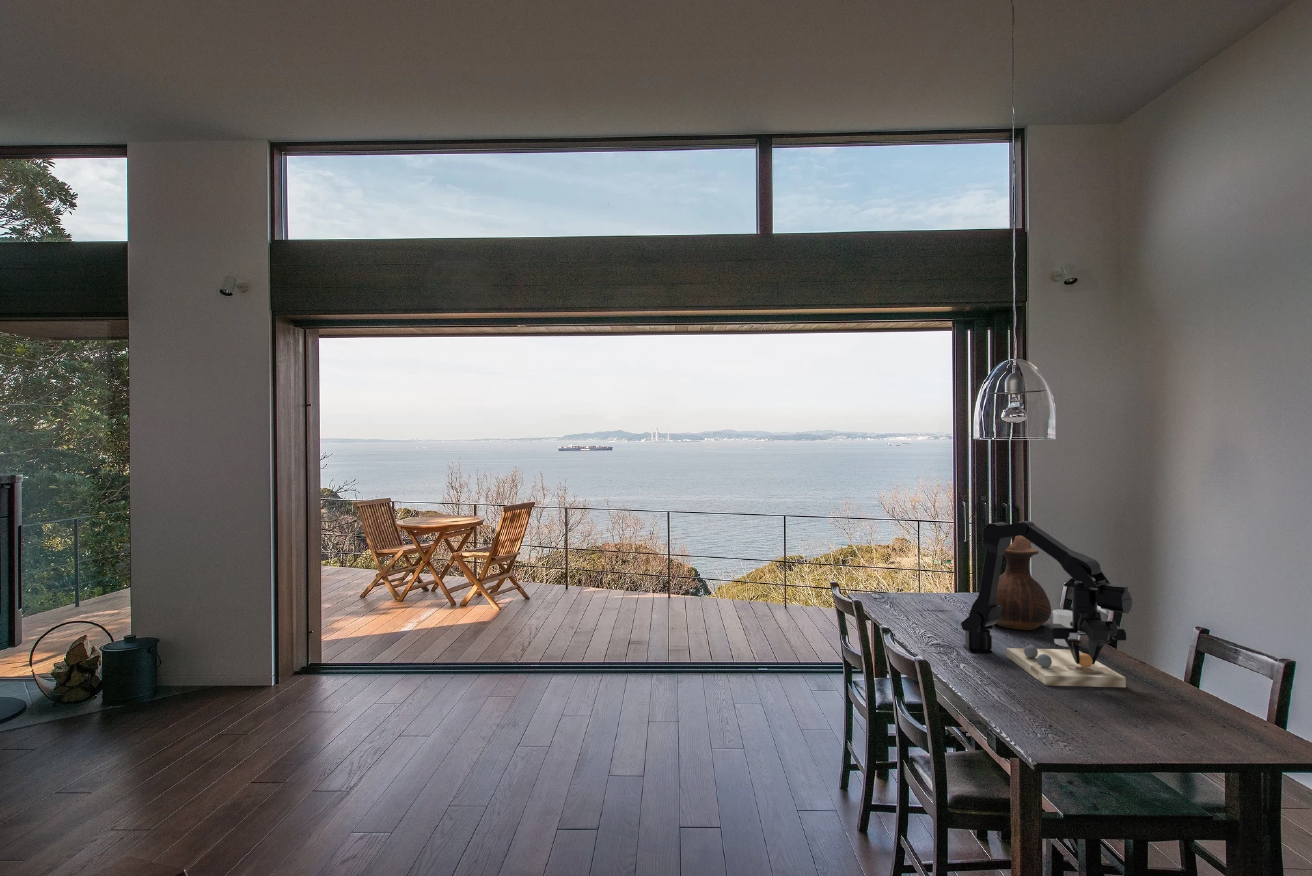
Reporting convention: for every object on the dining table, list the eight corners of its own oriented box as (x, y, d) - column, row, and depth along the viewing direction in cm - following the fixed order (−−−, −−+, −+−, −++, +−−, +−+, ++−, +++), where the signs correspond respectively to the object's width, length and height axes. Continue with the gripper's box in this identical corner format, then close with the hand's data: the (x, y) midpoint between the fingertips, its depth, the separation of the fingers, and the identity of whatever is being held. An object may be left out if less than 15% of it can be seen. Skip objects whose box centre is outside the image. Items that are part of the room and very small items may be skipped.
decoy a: (1027, 659, 195) (1027, 647, 195) (1021, 655, 198) (1021, 643, 198) (1040, 660, 195) (1040, 647, 195) (1034, 656, 198) (1034, 643, 198)
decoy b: (1040, 669, 187) (1040, 656, 187) (1034, 664, 190) (1034, 652, 190) (1054, 669, 187) (1054, 656, 187) (1048, 665, 190) (1048, 652, 190)
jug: (1067, 632, 231) (1067, 542, 231) (1008, 635, 228) (1008, 543, 228) (1022, 615, 253) (1022, 533, 253) (968, 618, 249) (968, 534, 249)
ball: (1081, 668, 185) (1081, 655, 185) (1074, 664, 189) (1074, 651, 189) (1095, 669, 185) (1095, 655, 185) (1088, 664, 188) (1088, 651, 188)
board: (1045, 685, 182) (1045, 675, 182) (1006, 656, 206) (1006, 648, 206) (1125, 687, 180) (1125, 677, 180) (1076, 658, 204) (1076, 649, 204)
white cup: (1073, 641, 221) (1073, 609, 221) (1086, 648, 213) (1086, 616, 213) (1047, 640, 222) (1047, 609, 222) (1059, 647, 214) (1059, 615, 214)
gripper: (1063, 612, 179) (1063, 673, 179) (1139, 613, 178) (1139, 674, 178) (1043, 602, 191) (1043, 659, 191) (1114, 603, 189) (1114, 660, 189)
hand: (1084, 663), depth 187 cm, fingers closed on ball, 3 cm apart
